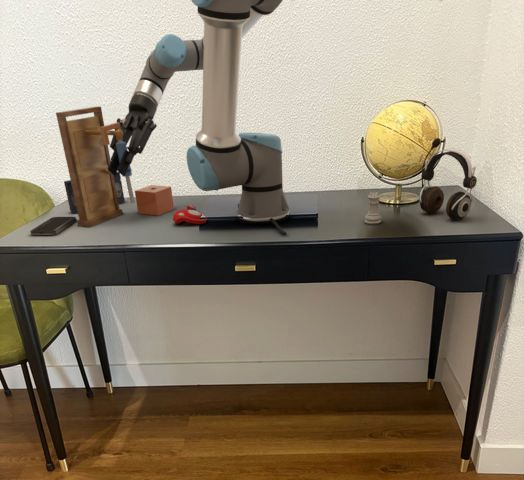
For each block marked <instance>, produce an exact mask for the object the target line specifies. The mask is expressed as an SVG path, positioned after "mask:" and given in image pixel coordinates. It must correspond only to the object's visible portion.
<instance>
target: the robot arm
mask: <svg viewBox="0 0 524 480" xmlns="http://www.w3.org/2000/svg"><path fill="white" fill-rule="evenodd" d="M190 1H191V2H192V4H194V6H195V7H197V14H198V16H199V17H200V18H201V20H202V21H203V36H202V38H201V39H187V40H184V39H182V38H181V37H180V36H177V35H175V34H174V33H168V34H164V35H163V36H162V37H161V39H160V40H159V41H158V42H157V43H156V44H155V47H154V50H152V51H151V52H150V54H149V55H148V57H147V58H146V61H145V65H144V68H143V70H142V72H141V74H140V78H139V80H138V82H137V84H136V86H135V88H134V91H133V94H132V96H131V98H130V101H129V103H128V113H127V114H125V117H124V118H122V119H121V118H120V117H118V118H117V119H116V123H120V127H121V130H122V132H123V135H122V136H123V140H122V141H123V142H126V146H127V145H128V146H127V150H125V152H124V154H123V157H122V159H121V161H120V163H119V158H118V153H117V148H116V143H118V140H117V139H116V136H115V135H112V138H111V141H110V144H109V148H110V149H111V150H112V151H113V152H112V154H111V156H110V160H111V162H110V165H109V167H108V170H109V171H110V172H111V173H112V174H113V175H116V173H117V172H119V173H120V176H122V177H123V176H125V174H126V172H127V169H128V167H129V164H130V165H131V164H132V163H133V160H134V158H135V156H137V155H141V154H142V153H143V152H144V150H145V147H146V145H147V143H148V142H149V139H150V138H151V135H152V133H153V131H155V129H157V126H158V124H156V122H155V121H154V120H153V119H154V118H155V115H156V113H157V110H158V107H159V105H160V102H161V100H162V97H163V95H164V92H165V90H166V88H167V86H168V83H169V82H170V80H171V78H172V77H173V76H174V74H175V73H176V72H190V71H202V102H201V103H202V106H201V107H202V108H201V109H202V110H201V129H200V130H199V131H198V132H197V133H195V145H191V146H189V147H188V149H187V150H186V165H187V169H188V172H189V175H190V177H191V179H192V181H193V183H194V184H195V186H196V187H197V188H198V189H199V190H201V191H203V192H212V191H215V192H216V191H219V190H224V189H229V188H233V187H239V186H241V194H240V199H239V203H238V204H237V212H236V213H237V214H238V215H241V216H242V217H243V220H242V219H240V218H238V217H237V221H239V222H241V223H243V224H247V225H258V226H260V225H261V226H262V225H273V226H275V227H276V229H277V230H278V231H279V232H280V234H282V235H283V236H286V235H287V232H286V231H285V230H284V229H283V228H282V227H281V226H280V225H279V223H282V222H284V221H286V220H288V219H290V216H291V210H290V205H289V204H288V201H287V199H286V198H287V197H286V195H285V192H284V187H283V186H284V185H283V156H282V155H283V149H282V140H281V138H280V137H279V136H278V135H276V134H272V133H263V132H239V133H238V132H237V118H238V104H239V103H238V101H239V87H240V73H241V71H240V70H241V56H242V42H243V41H242V40H243V38H244V37H245V36H246V35H247V34H248V32H249V31H250V30H251V29H252V28H253V27H254V26H255V25H256V24H257V23H258V22H259V21H260V20H261V19H262V18H263V16H268V15H271V14H272V13H273V12H275V11H276V9H277V8H278V7H279V6H280V5H281V4H282V2H283V1H284V0H190ZM128 143H129V144H128ZM289 212H290V214H289V215H288V216H287V217H285V216H286V215H287V214H288V213H289Z"/></svg>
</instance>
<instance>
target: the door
mask: <svg viewBox="0 0 524 480" xmlns="http://www.w3.org/2000/svg"><path fill="white" fill-rule="evenodd" d="M102 111H103V110H102V106H89V107H84V108H78V109H71V110H63V111H57V112H55V115H56V120H57V124H58V129H59V134H60V138H61V139H60V140H61V143H62V147H63V153H64V157H65V161H66V165H67V171H68V174H69V178H70V179H69V180H71V184H72V189H73V193H74V198H75V202H76V207H77V211H78V213H77V215H78V220H76V223H77V226H78V227H86V228H91V227H93V226H96V225H98V224H101V223H103V222H106V221H109V220H111V219H113V218H116V217H119V216H121V215H124V212H123V209H122V208H120V204H118V198H117V193H116V187H115V182H114V176H113V174H112V173H111V172H110V171H109V170H108V167H109V165H110V162H111V155H110V148H109V145H104V144H103V140H102V135H101V131H100V127H102V126H105V122H104V117H103V112H102ZM86 114H93V115H92V116H88V117H87V116H86V117H81V118H76V119H70V120H67V118H68V117H75V116H80V115H86ZM107 133H108V136H113V135H115V136H117V137H122V135H123V132H122V130H120V129H118V130H116V131H115V130H109V131H107Z"/></svg>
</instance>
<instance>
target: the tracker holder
mask: <svg viewBox="0 0 524 480" xmlns="http://www.w3.org/2000/svg"><path fill="white" fill-rule="evenodd" d="M185 205H186V208H184V209H179V210H176V211H175V212H174V214H173V216H172V221H173V222H174V223H175V225H180V224H182V223H184V222H186V223H190V224H195V225H204V224H206V223H207V219H208V217H207V218H206V219H205V220H201V219H200V217H201V216H202V214H203V213H202V212H201V211H199V210H198V209H197V207H196V206H194V205H193V204H192V205H191V204H189V203H185Z"/></svg>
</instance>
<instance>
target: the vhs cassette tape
mask: <svg viewBox="0 0 524 480" xmlns="http://www.w3.org/2000/svg"><path fill="white" fill-rule="evenodd" d="M113 176H114V182H115V187H116V193H117V198H118V204H119V205H121V204H124V203H126V200H125V194H124V189H123V183H122V178H121V174H120V173H119V172H118V171H117V173H116V175H113ZM63 183H64V188H65V192H66V197H67V203H68V206H69V211H70V213H71V214H78V211H77V207H76V202H75V198H74V193H73V189H72V184H71V179H69V180H64V181H63Z"/></svg>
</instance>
